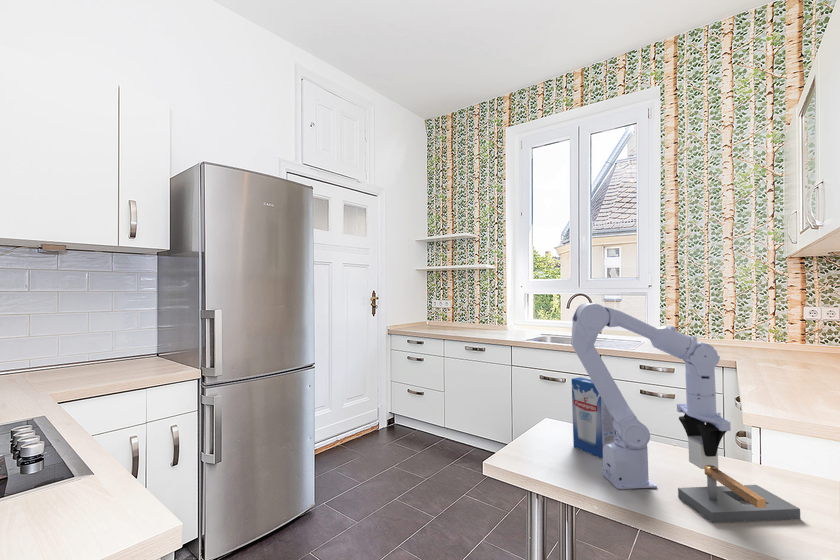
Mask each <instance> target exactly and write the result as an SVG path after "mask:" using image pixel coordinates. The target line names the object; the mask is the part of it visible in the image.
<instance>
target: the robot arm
mask: <svg viewBox="0 0 840 560" xmlns="http://www.w3.org/2000/svg"><path fill="white" fill-rule="evenodd" d="M571 318H572V319H571V320H572V324H571V325H572V328H571V340H570V342H571V346H572V348H573V350H574V352H575V354H576V355H577V358H578V359H579V360H580V363H581V364H582V366H583V368H584V369H585V371H586V373H587V375H588V377H590V378H591V380H592V382H593V384H594V386H595V387H596V389H597V391H598V393H599V394H600V396H601V398H602V400H603V401H604V403H605V405H606V407H607V409H608V412H609V413H610V415H611V418H612V426H613V428H614V430H615V431H616V435H615V438H614V442H612V443H610V444H606V445H604V447H603V458H602V469H603V470H602V472H601V474H602V476H603V477H604V478H605V479H607V481H609V482H610V483H611V484H612V485H613V486H614V487H615V488H616V489H618V490H627V489H629V490H632V489H653V488H654V489H655V488H658V484H656V483H655V482H654V481H652V480H651V479H650V478H649V477H650V476H649V455H648V453H649V451H648V448H649V447H648V443H649V442H650V440H651V433H650V430H649V428H648V427H647V426H646V425H645V424H644V423H642V422H641V421H640V420H639V418H637V416H636V414H635V413H634V412H633V410H632V408H631V407H630V406H629V404H628V402H627V401H626V399H625V397H624V396H623V394H622V392H621V390H620V389H619V387H618V385H617V383H616V382H615V380H614V378H613V376H612V375H611V373H610V371H609V369H608V368H607V366H606V364H605V363H604V361H603V359H602V358H601V356H600V354H599V352H598V350H597V348H596V346H595V343H596V342H597V338H598V336H599V334H600V333H601V332H602V330H604V328H605V327H608V328H616V327H620V328H622V329H625V330H628V331H629V332H632V333H634V334H637V335H638V336H640V337H644V338H646V339H648V340H650V343H651V345H652V347H653V348H655V349H657V350H660V351H662V352H663V353H666V354H668V355H670V356H672V357H675V358H677V359H679V360H682V361H683V362H685V363H684V364H685V365H684V366H685V375H684V376H685V394H686V395H685V396H686V398H685V399H686V403H676V412H678V413H683V414H684V415H681V416H679V417H678V420H679V421H680V423H681V425H682V427H683V428H684V431H685V433H686V437H688V436H701V437H702V441H703V448H704V453H705V456H708V457H711V456H716V454H717V450H719V445H720V443H721V442H722V441H721V440H722V439H723V437H724V436H725V434H726V433H727V432H730V431H731V429H732V428H731V427H732V426H731V421H729V420H727V419H725V418H724V417H722V416H721V414H722V413H721V412H720V411H717V394H716V393H717V390H716V389H717V387H716V374H715V369H716V366H717V365H718V364H719V362H720V358H721V356H720V355H719V354H718V351H717V350H716V349H715V347H714V346H712V345H711V344H708V343H705V342H701V341H700V340H697V339H698V338H697V337H696V336H694V335H690V336H689V335H687V334H684V333H682V332H680V331H677V327H674V326H672V325H668V326H667V325H662V326H658V327H654V326H653V325H651V324H649V323H646V322H645V321H642V320H640V319H638V318H636V317H633V316H632V315H629V314H627V313H625V312H624V311H621V310H618V309H614V308H611V307H607V306H604V305H601V304H598V303H593V302H584V303H581V304H580V305H579V306H578V307H577V308H576V309H575V311H574V314H573V316H572V317H571Z"/></svg>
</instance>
